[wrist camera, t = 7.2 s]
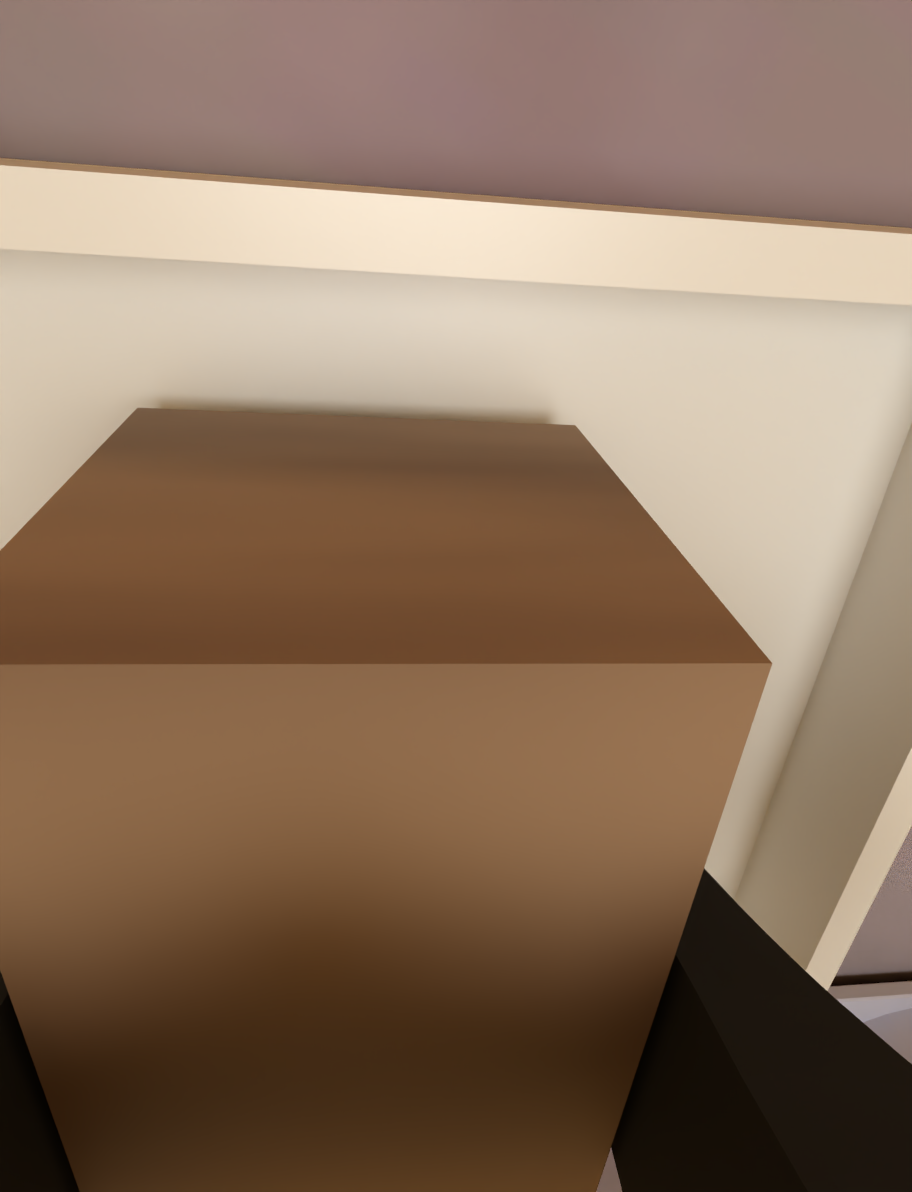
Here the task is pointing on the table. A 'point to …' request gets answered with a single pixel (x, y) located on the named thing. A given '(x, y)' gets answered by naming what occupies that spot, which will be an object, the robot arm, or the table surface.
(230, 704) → the walnut block
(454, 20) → the table surface
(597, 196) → the table surface
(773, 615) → the tote
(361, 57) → the table surface
